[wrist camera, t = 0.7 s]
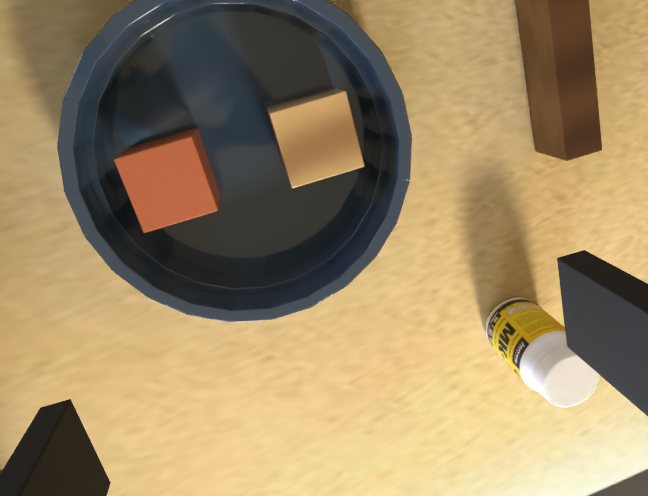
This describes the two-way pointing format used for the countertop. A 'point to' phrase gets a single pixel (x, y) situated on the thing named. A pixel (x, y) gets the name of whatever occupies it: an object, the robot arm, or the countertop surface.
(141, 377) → the countertop surface
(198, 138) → the block terracotta
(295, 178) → the block beech
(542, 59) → the stick
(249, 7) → the bowl
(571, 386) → the supplement bottle
